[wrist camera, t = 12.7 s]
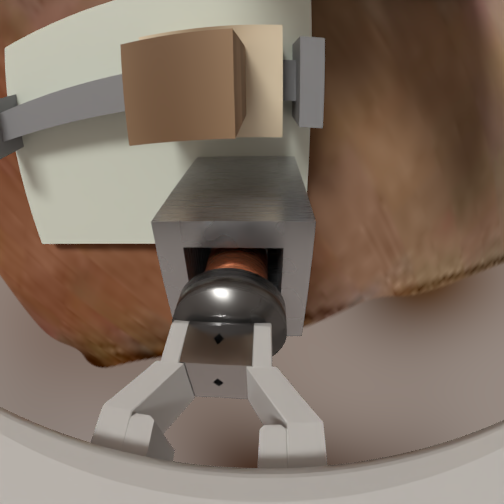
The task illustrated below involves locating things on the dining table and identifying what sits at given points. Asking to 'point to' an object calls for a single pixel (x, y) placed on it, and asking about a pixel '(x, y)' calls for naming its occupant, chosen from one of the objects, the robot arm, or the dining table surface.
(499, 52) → the dining table surface
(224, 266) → the knob
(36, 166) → the rail bed
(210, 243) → the cabinet
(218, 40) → the carriage
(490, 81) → the dining table surface
